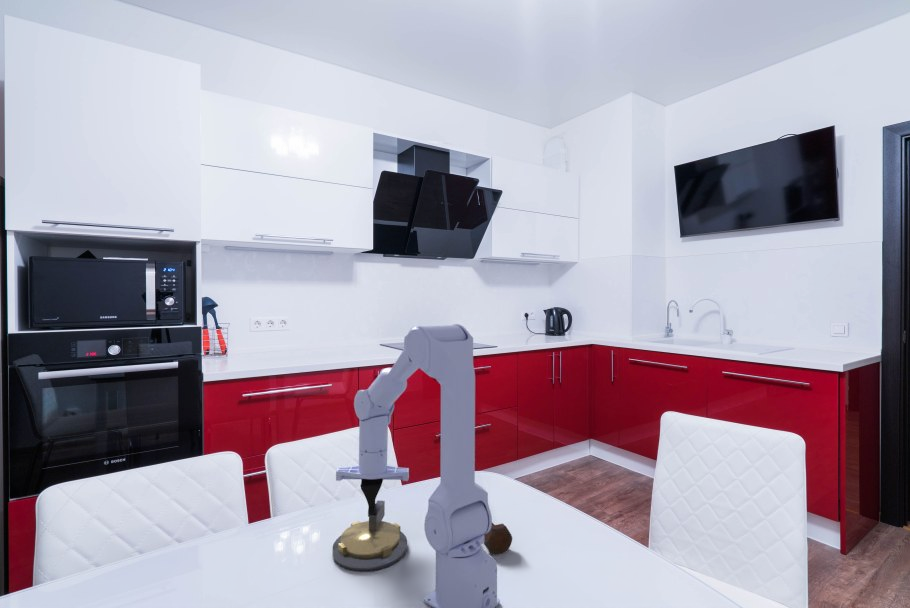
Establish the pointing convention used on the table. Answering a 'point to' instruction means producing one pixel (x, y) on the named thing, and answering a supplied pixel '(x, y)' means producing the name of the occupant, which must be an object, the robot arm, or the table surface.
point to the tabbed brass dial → (370, 536)
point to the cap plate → (370, 563)
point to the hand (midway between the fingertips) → (372, 514)
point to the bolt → (498, 539)
